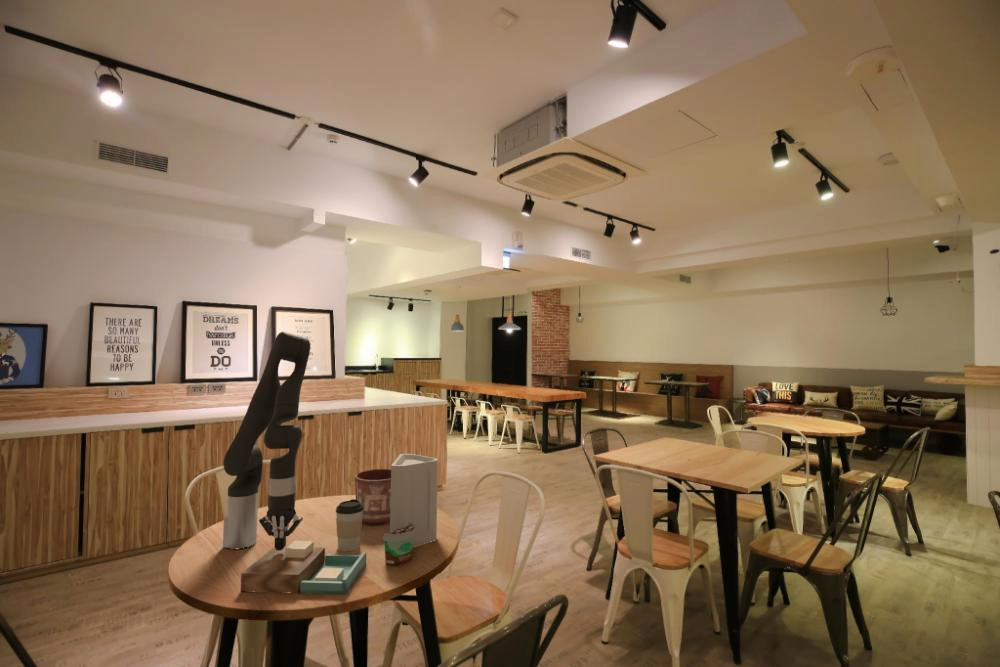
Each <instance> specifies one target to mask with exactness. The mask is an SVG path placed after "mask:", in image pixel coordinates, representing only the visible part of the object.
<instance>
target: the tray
mask: <svg viewBox="0 0 1000 667" xmlns="http://www.w3.org/2000/svg"><path fill="white" fill-rule="evenodd" d="M366 566H367V551H362V553H361V554H336V553H335V554H330V553H327V554H326V553H325V563H324V565H323V566H322V567H321V568H320V569H319V570H318V571H317V572H316V573H315V575H314V576H313V577H312V578H311V579H310V580H309V581H301V582H300V592H299V594H301V593H312V594H311V595H313V594H314V595H337V596H338V595H343V596H345V595H347V593H348V592H349V590H350V588H351V587H352V586H353V584H354V583H355V582H356V580H357V579H358V577H359V576H360V574H361V573H362V572H363V570H364V568H366ZM323 568H344V577H343V579H342V580H341V581H315V577H316V576H317V575H318V573H319V572H320V571H321V570H322V569H323Z"/></svg>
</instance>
